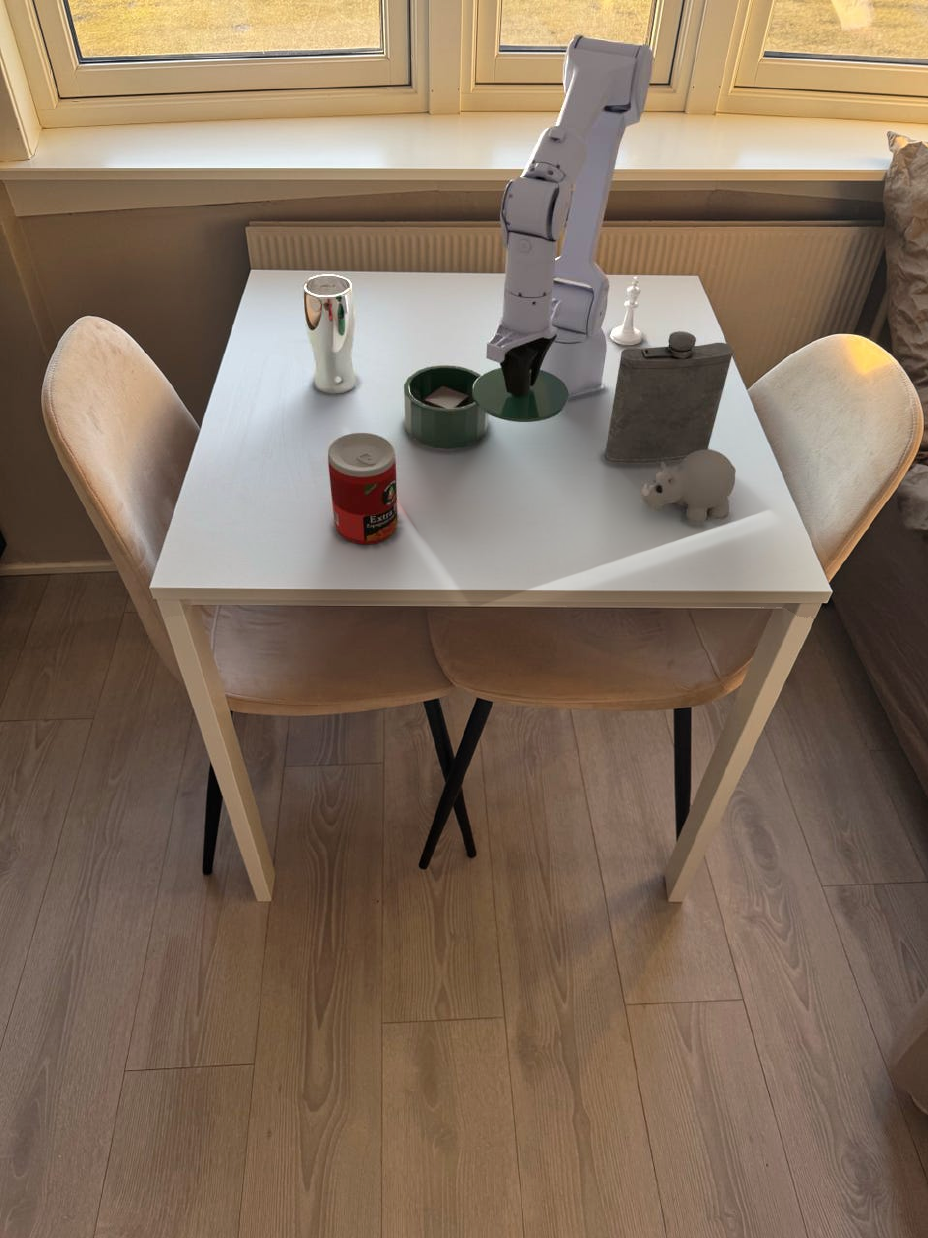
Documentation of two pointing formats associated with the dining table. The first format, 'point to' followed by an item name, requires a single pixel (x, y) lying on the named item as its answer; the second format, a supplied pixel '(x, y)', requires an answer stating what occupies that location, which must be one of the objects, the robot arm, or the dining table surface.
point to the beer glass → (330, 331)
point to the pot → (443, 423)
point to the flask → (666, 400)
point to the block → (446, 398)
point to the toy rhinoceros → (694, 485)
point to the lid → (530, 406)
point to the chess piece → (628, 320)
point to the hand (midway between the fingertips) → (520, 387)
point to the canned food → (363, 487)
